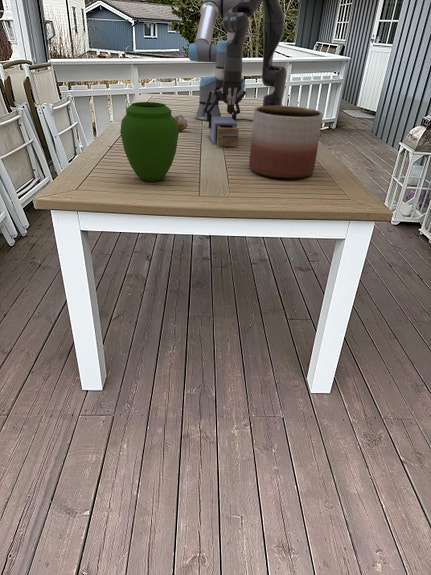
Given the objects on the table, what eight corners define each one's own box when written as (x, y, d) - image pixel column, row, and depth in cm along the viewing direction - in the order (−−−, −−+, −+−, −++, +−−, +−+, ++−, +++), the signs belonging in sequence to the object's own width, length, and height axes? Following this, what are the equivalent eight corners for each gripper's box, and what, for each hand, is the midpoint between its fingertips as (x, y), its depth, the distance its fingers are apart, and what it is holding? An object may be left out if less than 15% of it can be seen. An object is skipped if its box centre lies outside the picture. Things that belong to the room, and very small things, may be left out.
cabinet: (235, 144, 197) (237, 123, 192) (213, 144, 195) (214, 122, 190) (229, 136, 210) (230, 116, 205) (209, 136, 209) (209, 116, 204)
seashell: (187, 130, 219) (187, 114, 215) (188, 132, 214) (188, 116, 210) (169, 129, 218) (169, 113, 214) (170, 131, 213) (169, 115, 209)
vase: (131, 189, 135) (125, 110, 122) (118, 172, 150) (112, 100, 137) (186, 184, 142) (187, 109, 129) (169, 168, 157) (167, 99, 144)
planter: (323, 180, 153) (335, 117, 141) (257, 181, 149) (264, 116, 137) (300, 162, 174) (309, 106, 162) (242, 162, 170) (247, 104, 158)
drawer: (239, 148, 186) (241, 130, 182) (219, 148, 185) (220, 130, 180) (231, 138, 203) (232, 122, 198) (212, 138, 201) (213, 121, 197)
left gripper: (199, 78, 187) (198, 129, 199) (249, 80, 191) (245, 130, 203) (198, 77, 194) (197, 126, 205) (245, 78, 197) (242, 127, 209)
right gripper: (218, 69, 167) (216, 115, 176) (250, 70, 168) (246, 115, 178) (215, 68, 173) (214, 112, 182) (246, 69, 175) (243, 112, 184)
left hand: (221, 128), depth 204 cm, fingers closed on cabinet, 11 cm apart
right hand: (230, 113), depth 180 cm, fingers closed
